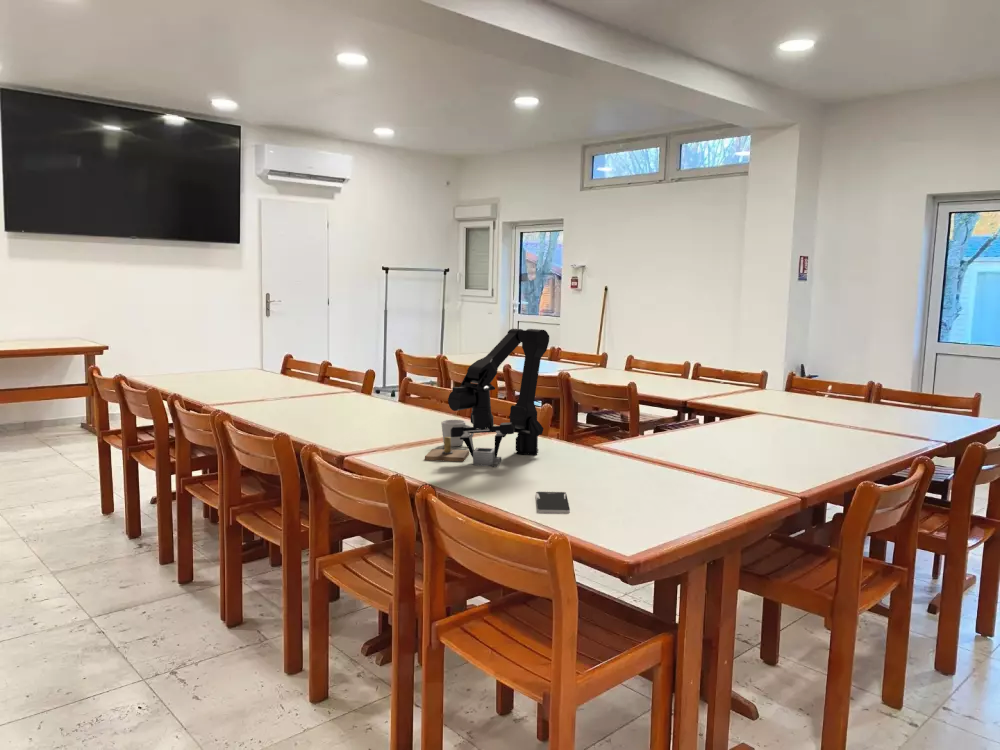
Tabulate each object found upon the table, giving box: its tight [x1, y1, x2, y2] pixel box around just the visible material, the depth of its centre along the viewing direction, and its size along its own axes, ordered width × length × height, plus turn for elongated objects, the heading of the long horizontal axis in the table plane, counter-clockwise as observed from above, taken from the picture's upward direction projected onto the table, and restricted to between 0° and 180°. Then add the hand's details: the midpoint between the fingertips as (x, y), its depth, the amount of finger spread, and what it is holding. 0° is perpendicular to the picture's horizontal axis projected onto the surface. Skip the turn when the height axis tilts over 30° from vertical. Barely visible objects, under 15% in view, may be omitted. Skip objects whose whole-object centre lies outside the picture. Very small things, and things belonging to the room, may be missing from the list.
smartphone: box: [535, 490, 571, 514], centre depth 179 cm, size 8×1×15 cm
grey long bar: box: [491, 456, 502, 468], centre depth 219 cm, size 2×9×2 cm, turn 173°
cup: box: [441, 419, 475, 448], centre depth 243 cm, size 11×8×8 cm
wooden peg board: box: [424, 437, 470, 462], centre depth 227 cm, size 12×10×6 cm
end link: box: [472, 447, 495, 467], centre depth 219 cm, size 6×6×4 cm
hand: (484, 458), depth 219 cm, fingers open, 6 cm apart
